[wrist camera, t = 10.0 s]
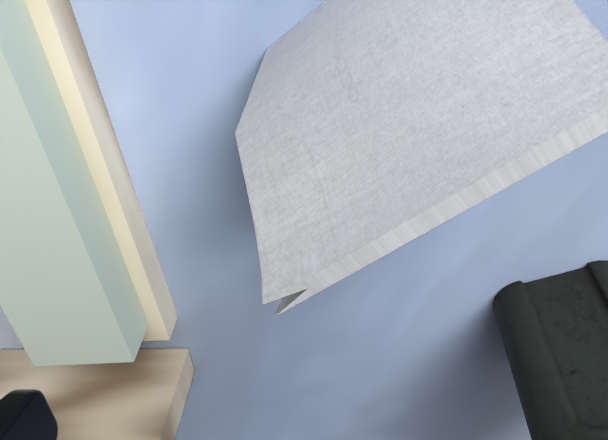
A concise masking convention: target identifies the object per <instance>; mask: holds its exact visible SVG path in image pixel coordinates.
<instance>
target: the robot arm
mask: <svg viewBox="0 0 608 440" xmlns="http://www.w3.org/2000/svg"><path fill="white" fill-rule="evenodd" d="M57 435H58V425H57V421H56V419H55V417H54V414H53V412H52V410H51V408H50V406H49V404H48V402H47V400H46V398H45V396H44V394H43V393H42V392H41V391H39V390H36V389H17V390H13V391H11V392H9V393H8V394H6V395H5V396H4V397H3V398H1V399H0V440H57Z"/></svg>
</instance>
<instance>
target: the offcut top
mask: <svg viewBox="0 0 608 440" xmlns="http://www.w3.org/2000/svg"><path fill="white" fill-rule="evenodd" d="M0 307H1V309H2V311H3V312H4V314H5V316H6V318H7V319H8V321H9V323H10V325H11V326H12V328H13V330H14V332H15V334H16V335H17V337H18V339H19V341H20V342H21V344H22V346H23V348H24V349H25V351H26V353H27V355H28V356H29V358H30V360H31V362H32V363H33V365H34V366H56V365H79V364H101V363H124V362H134V361H135V358H136V356H137V353H138V351H139V348H140V345H141V343H142V340H143V338H144V335H145V333H146V330H147V328H148V325H149V323H148V320H147V318H146V315H145V312H144V310H143V307H142V305H141V302H140V299H139V297H138V294H137V291H136V289H135V286H134V284H133V281H132V278H131V276H130V273H129V271H128V268H127V265H126V263H125V260H124V257H123V255H122V252H121V250H120V247H119V244H118V242H117V239H116V237H115V234H114V231H113V229H112V226H111V223H110V221H109V218H108V216H107V213H106V210H105V208H104V205H103V203H102V200H101V197H100V195H99V192H98V189H97V187H96V184H95V182H94V179H93V176H92V174H91V171H90V169H89V166H88V163H87V161H86V158H85V155H84V153H83V150H82V148H81V145H80V142H79V140H78V137H77V135H76V132H75V129H74V127H73V124H72V122H71V119H70V116H69V114H68V111H67V108H66V106H65V103H64V101H63V98H62V95H61V93H60V90H59V88H58V85H57V82H56V80H55V77H54V74H53V72H52V69H51V67H50V64H49V61H48V59H47V56H46V54H45V51H44V48H43V46H42V43H41V40H40V38H39V35H38V33H37V30H36V27H35V25H34V22H33V20H32V17H31V14H30V12H29V9H28V6H27V4H26V1H25V0H0Z"/></svg>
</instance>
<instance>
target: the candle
mask: <svg viewBox="0 0 608 440" xmlns="http://www.w3.org/2000/svg"><path fill="white" fill-rule="evenodd" d="M493 306H494V312H495V315H496V319H497V322H498V326H499V329H500V332H501V336H502V339H503V343H504V346H505V350H506V353H507V356H508V360H509V363H510V367H511V370H512V374H513V377H514V380H515V384H516V387H517V391H518V394H519V398H520V401H521V404H522V408H523V411H524V415H525V418H526V421H527V425H528V428H529V432H530V435H531V439H532V440H608V261H595V262H590V263H588V265H587V267H585V268H582V269H578V270H574V271H570V272H566V273H563V274H559V275H555V276H551V277H547V278H543V279H540V280H536V281H532V282H528V283H523V282H521V281H518V282H515V283H512V284H510V285H508V286H506V287H505V288H503V289H502V290H501V291H500V292H499V293H498V294H497V296H496V298H495V300H494V305H493Z"/></svg>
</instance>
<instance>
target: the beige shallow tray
mask: <svg viewBox="0 0 608 440" xmlns="http://www.w3.org/2000/svg"><path fill="white" fill-rule="evenodd" d="M193 375H194V367H193V364H192V360H191V356H190V353H189V349H139V351H138V353H137V356H136V358H135V361H134V362H124V363H101V364H79V365H56V366H34V365H33V363H32V362H31V360H30V358H29V356H28V355H27V353H26V351H25V349H0V399H1V398H3V397H4V396H5V395H6V394H8V393H9V392H11V391H13V390H17V389H36V390H39V391H41V392H42V393H43V394H44V396H45V398H46V400H47V402H48V404H49V406H50V408H51V410H52V412H53V414H54V417H55V419H56V421H57V425H58V435H57V440H175V437H176V434H177V430H178V427H179V423H180V420H181V416H182V413H183V409H184V406H185V402H186V399H187V395H188V392H189V389H190V385H191V382H192V378H193Z"/></svg>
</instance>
